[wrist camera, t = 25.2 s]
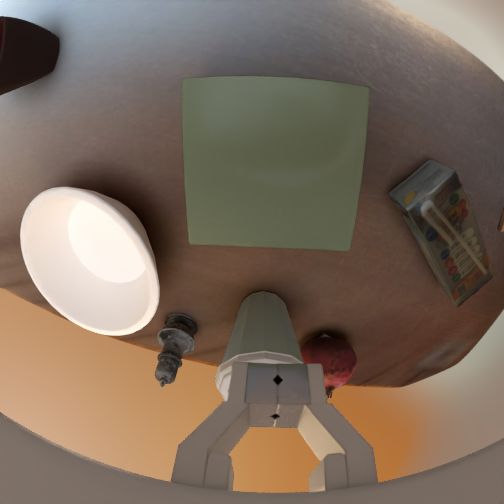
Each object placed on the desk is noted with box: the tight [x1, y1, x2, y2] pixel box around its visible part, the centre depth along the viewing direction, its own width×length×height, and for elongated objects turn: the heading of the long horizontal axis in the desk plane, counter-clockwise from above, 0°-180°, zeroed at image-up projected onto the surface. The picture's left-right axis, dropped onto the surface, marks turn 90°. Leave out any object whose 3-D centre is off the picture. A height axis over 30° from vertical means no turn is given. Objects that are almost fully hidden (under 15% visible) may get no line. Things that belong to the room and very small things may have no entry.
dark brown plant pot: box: [0, 16, 59, 95], centre depth 17 cm, size 10×14×12 cm
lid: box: [182, 76, 370, 251], centre depth 24 cm, size 16×16×1 cm
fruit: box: [301, 332, 357, 398], centre depth 40 cm, size 9×10×10 cm
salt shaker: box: [155, 313, 197, 387], centre depth 38 cm, size 6×6×12 cm
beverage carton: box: [388, 160, 493, 307], centre depth 30 cm, size 8×19×7 cm, turn 44°
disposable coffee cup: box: [215, 291, 304, 402], centre depth 34 cm, size 11×11×15 cm
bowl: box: [20, 187, 160, 335], centre depth 33 cm, size 21×21×8 cm
